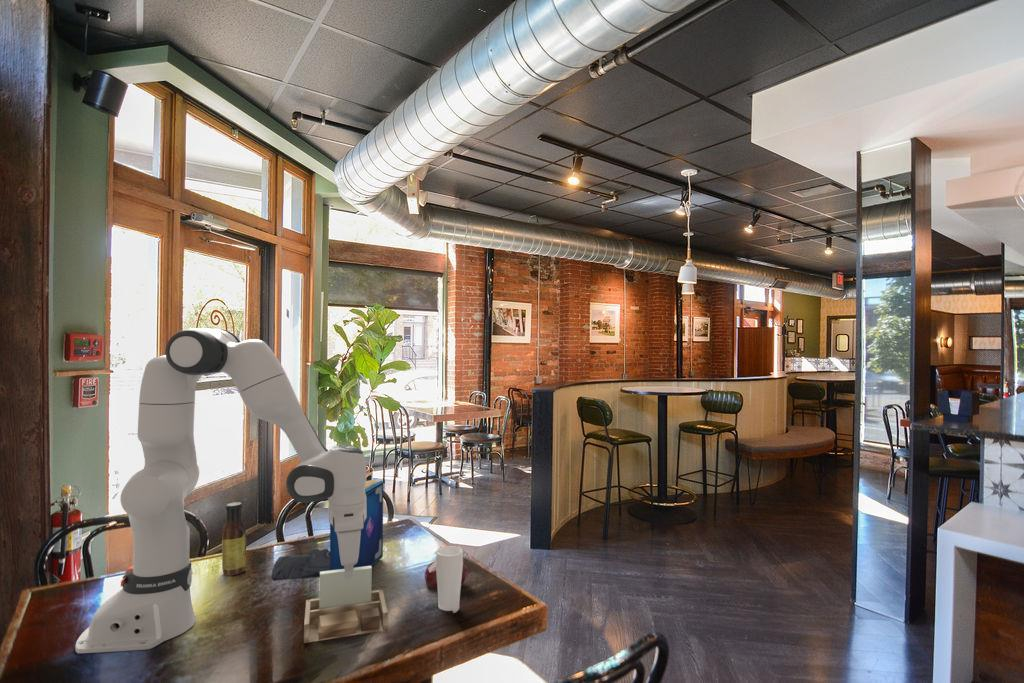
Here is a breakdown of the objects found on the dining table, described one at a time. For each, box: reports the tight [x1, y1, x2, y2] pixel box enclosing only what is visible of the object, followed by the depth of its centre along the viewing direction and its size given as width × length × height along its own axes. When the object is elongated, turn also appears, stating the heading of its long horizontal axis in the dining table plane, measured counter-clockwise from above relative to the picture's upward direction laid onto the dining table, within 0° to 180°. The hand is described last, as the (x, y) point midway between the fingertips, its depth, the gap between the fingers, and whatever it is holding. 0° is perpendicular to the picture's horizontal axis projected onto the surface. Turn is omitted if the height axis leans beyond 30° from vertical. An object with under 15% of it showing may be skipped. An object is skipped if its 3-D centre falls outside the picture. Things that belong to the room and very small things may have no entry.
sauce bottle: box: [221, 501, 247, 577], centre depth 155 cm, size 7×6×20 cm
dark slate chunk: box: [271, 548, 330, 581], centre depth 159 cm, size 15×22×5 cm
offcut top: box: [319, 610, 358, 633], centre depth 121 cm, size 8×5×2 cm, turn 113°
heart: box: [424, 559, 469, 590], centre depth 148 cm, size 12×8×10 cm
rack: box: [303, 589, 389, 644], centre depth 125 cm, size 18×12×5 cm, turn 109°
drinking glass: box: [435, 545, 464, 614], centre depth 134 cm, size 7×7×15 cm
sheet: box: [318, 566, 373, 609], centre depth 128 cm, size 12×2×11 cm, turn 109°
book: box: [329, 479, 384, 570], centre depth 156 cm, size 22×7×25 cm, turn 168°
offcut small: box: [361, 608, 380, 631], centre depth 124 cm, size 4×4×3 cm
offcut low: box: [318, 623, 356, 639], centre depth 121 cm, size 8×5×2 cm, turn 109°
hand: (348, 569), depth 129 cm, fingers open, 8 cm apart
